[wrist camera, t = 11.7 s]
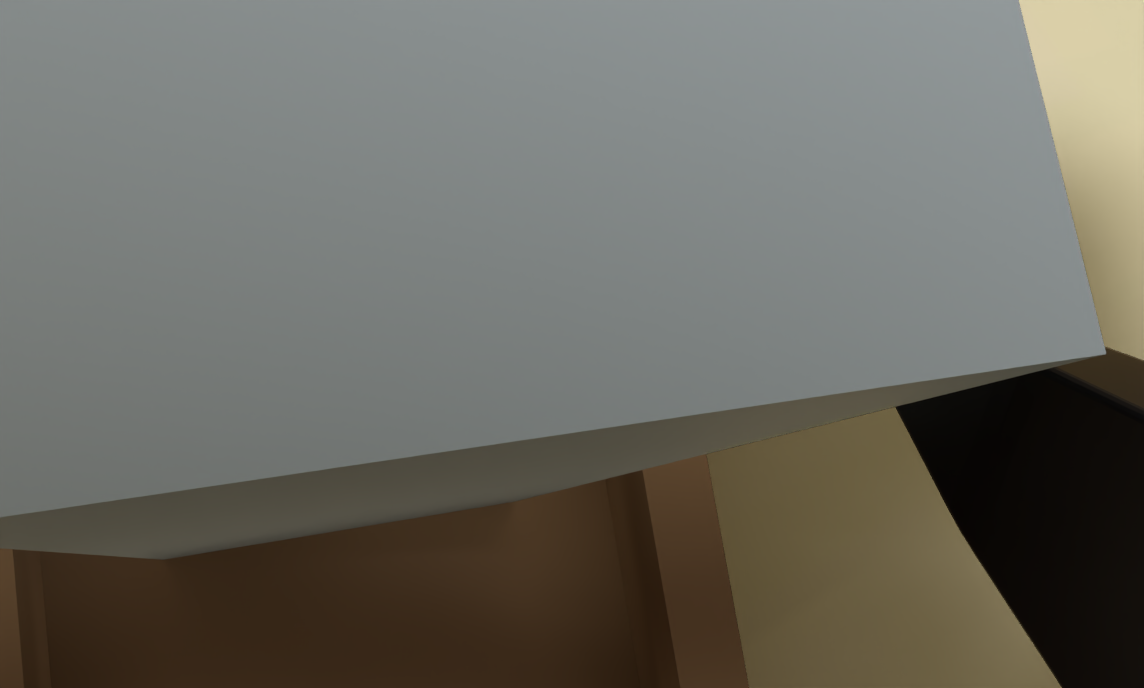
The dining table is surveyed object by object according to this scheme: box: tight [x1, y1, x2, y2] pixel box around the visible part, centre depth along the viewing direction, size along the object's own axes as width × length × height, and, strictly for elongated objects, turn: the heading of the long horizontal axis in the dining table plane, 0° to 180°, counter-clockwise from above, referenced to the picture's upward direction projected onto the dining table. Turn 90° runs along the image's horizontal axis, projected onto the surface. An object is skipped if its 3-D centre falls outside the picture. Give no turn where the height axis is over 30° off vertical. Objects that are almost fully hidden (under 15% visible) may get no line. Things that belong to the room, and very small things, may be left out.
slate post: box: [0, 0, 1106, 560], centre depth 10 cm, size 5×5×12 cm
